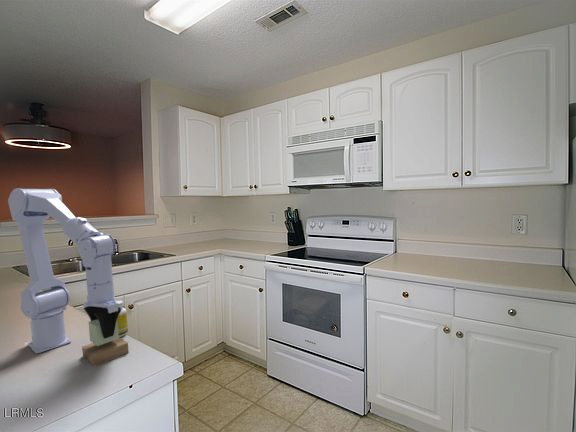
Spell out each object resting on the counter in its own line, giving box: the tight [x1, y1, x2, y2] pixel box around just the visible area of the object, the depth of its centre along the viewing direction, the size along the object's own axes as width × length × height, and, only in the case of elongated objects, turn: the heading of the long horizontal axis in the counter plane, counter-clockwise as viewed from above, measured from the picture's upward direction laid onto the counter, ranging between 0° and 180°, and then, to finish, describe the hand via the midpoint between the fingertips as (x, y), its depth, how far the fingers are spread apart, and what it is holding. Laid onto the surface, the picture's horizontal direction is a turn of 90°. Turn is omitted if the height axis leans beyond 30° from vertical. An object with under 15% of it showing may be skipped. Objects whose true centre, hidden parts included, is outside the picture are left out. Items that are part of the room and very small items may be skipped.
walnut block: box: [81, 337, 130, 367], centre depth 79 cm, size 8×8×3 cm
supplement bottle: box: [116, 300, 129, 338], centre depth 91 cm, size 5×5×10 cm
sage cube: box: [88, 319, 120, 346], centre depth 79 cm, size 5×5×5 cm
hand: (104, 334), depth 79 cm, fingers closed on sage cube, 5 cm apart
